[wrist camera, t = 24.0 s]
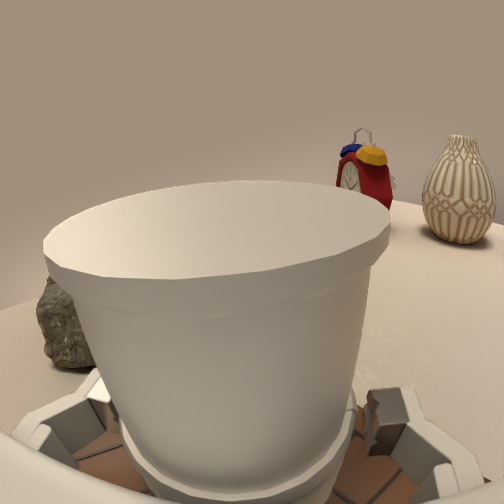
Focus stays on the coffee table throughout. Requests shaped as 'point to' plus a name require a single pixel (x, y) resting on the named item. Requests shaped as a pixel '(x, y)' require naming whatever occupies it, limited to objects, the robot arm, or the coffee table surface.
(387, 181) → the alarm clock
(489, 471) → the coffee table surface
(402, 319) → the coffee table surface
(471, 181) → the vase
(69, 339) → the rock
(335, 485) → the grid board
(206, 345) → the white travel cup
